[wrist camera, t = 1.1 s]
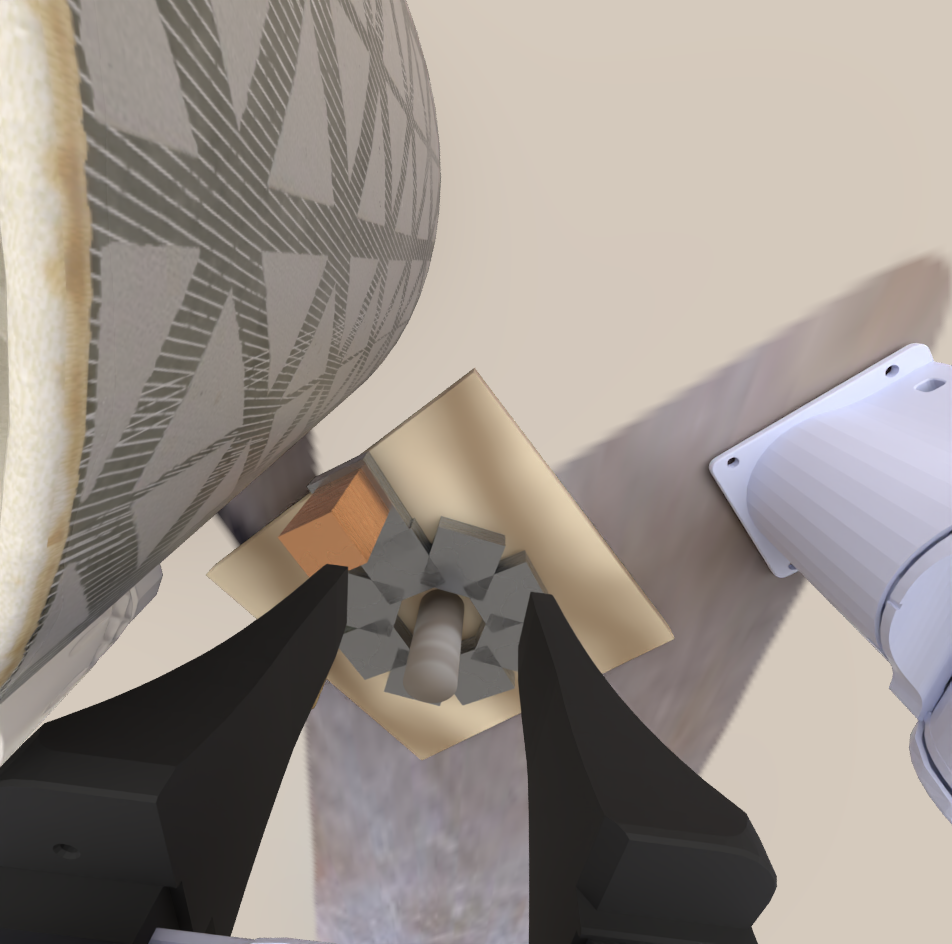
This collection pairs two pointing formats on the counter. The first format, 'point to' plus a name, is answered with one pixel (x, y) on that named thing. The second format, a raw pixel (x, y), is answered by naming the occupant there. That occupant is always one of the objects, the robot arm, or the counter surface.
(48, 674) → the white cup
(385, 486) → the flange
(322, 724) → the counter surface
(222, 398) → the planter
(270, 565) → the post board
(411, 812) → the counter surface
